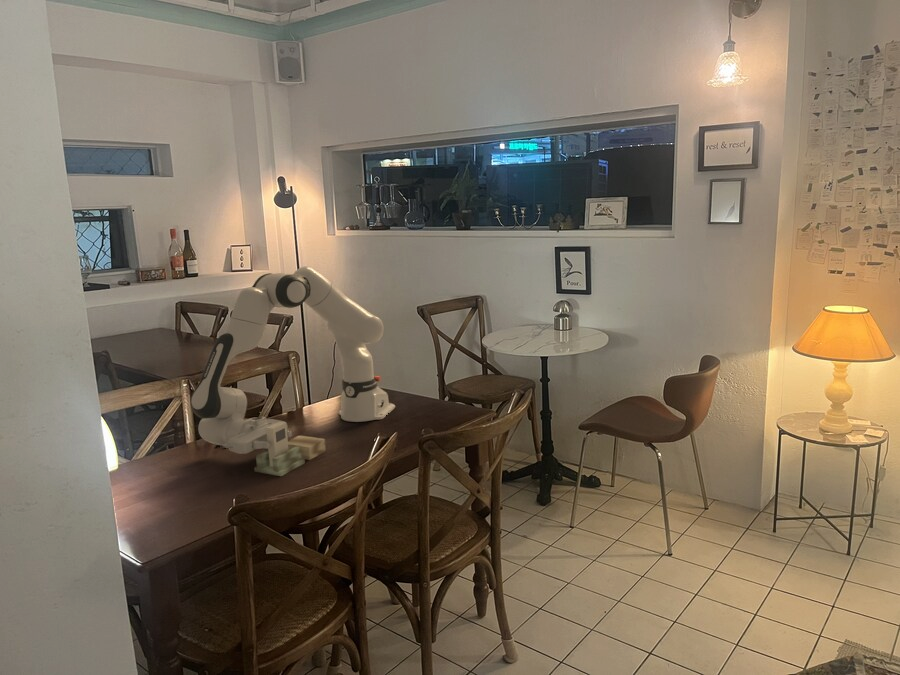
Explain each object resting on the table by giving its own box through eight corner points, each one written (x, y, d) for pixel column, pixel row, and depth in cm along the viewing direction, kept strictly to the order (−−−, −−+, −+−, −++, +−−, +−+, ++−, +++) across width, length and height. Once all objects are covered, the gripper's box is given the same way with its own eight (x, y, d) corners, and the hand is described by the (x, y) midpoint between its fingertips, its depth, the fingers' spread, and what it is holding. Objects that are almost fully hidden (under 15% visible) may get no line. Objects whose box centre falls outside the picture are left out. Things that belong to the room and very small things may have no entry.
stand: (300, 447, 220) (299, 435, 219) (325, 451, 215) (324, 439, 214) (284, 455, 213) (283, 443, 212) (310, 459, 208) (309, 447, 207)
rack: (278, 458, 210) (277, 443, 209) (304, 462, 206) (303, 447, 205) (254, 471, 201) (252, 455, 200) (281, 476, 196) (279, 460, 195)
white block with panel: (283, 459, 206) (279, 421, 204) (289, 460, 205) (286, 422, 203) (269, 466, 201) (266, 427, 199) (276, 467, 200) (273, 428, 198)
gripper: (217, 435, 198) (254, 441, 192) (265, 414, 215) (300, 419, 209) (220, 455, 199) (256, 462, 193) (267, 433, 217) (302, 438, 211)
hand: (279, 439), depth 201 cm, fingers open, 8 cm apart
